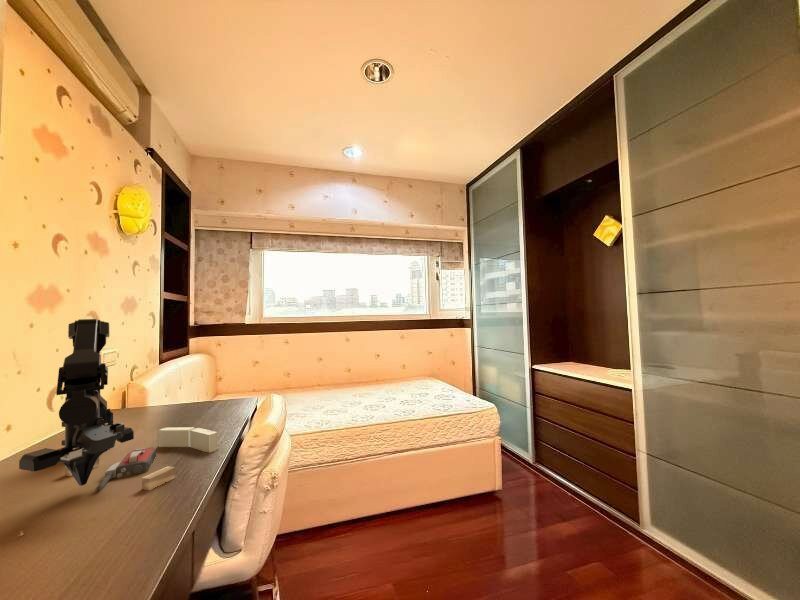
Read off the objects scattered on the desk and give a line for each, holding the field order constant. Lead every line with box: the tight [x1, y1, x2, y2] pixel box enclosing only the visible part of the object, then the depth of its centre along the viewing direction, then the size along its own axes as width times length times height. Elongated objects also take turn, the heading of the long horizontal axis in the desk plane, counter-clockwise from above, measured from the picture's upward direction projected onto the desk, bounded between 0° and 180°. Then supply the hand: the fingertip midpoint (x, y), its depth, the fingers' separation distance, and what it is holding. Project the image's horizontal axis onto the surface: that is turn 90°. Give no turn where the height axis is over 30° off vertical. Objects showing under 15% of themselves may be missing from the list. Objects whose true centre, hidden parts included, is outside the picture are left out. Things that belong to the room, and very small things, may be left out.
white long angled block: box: [158, 426, 219, 453], centre depth 102 cm, size 21×4×5 cm, turn 71°
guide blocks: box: [64, 456, 176, 491], centre depth 83 cm, size 30×6×2 cm, turn 71°
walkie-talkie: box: [96, 446, 157, 491], centre depth 86 cm, size 9×4×20 cm
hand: (82, 484), depth 76 cm, fingers closed
